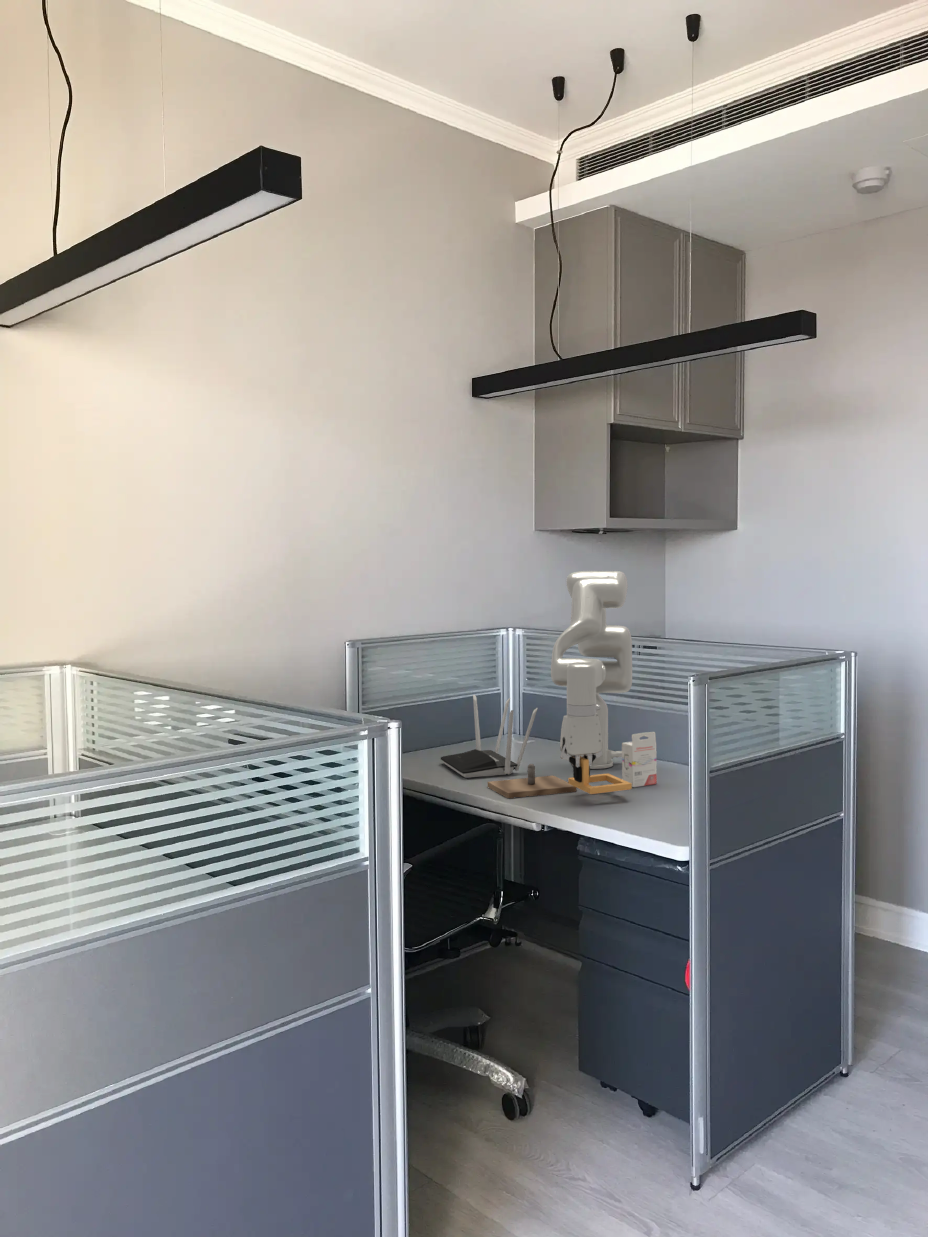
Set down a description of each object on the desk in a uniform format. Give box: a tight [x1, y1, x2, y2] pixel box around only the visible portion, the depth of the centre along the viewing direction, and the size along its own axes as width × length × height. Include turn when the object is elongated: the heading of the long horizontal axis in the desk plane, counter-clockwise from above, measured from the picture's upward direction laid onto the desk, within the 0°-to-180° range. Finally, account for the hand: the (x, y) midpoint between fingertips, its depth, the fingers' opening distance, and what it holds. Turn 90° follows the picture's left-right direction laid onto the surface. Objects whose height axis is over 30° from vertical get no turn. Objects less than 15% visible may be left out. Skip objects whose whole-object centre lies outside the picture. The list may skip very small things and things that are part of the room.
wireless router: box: [440, 694, 538, 779], centre depth 293 cm, size 34×23×20 cm
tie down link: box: [567, 756, 633, 795], centre depth 257 cm, size 12×12×8 cm
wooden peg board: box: [487, 763, 577, 799], centre depth 267 cm, size 20×14×7 cm
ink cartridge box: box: [621, 731, 658, 788], centre depth 272 cm, size 9×5×15 cm, turn 117°
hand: (581, 780), depth 255 cm, fingers closed on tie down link, 1 cm apart
